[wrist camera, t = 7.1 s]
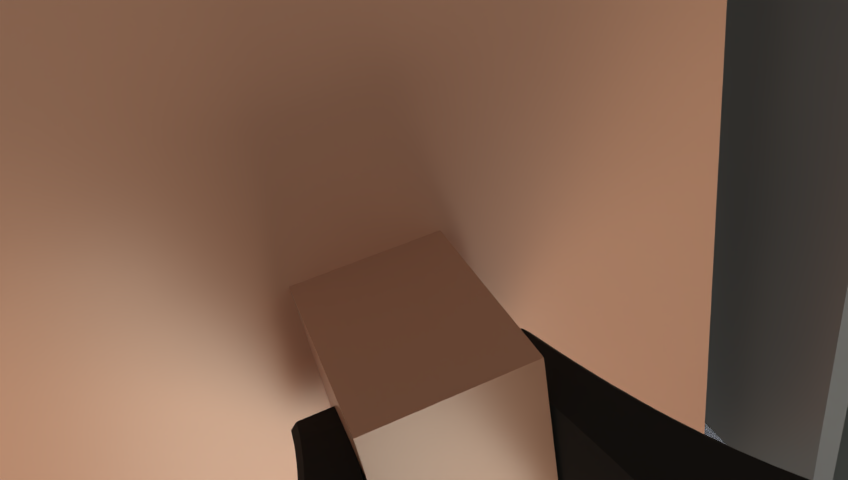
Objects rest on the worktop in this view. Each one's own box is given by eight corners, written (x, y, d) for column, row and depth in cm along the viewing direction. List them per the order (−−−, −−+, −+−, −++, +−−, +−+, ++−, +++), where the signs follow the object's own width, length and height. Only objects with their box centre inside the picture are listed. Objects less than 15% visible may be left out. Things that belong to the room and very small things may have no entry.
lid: (667, 454, 19) (803, 609, 16) (173, 689, 16) (201, 942, 13) (675, -205, 11) (967, -200, 7) (-307, 49, 8) (-602, 253, 5)
